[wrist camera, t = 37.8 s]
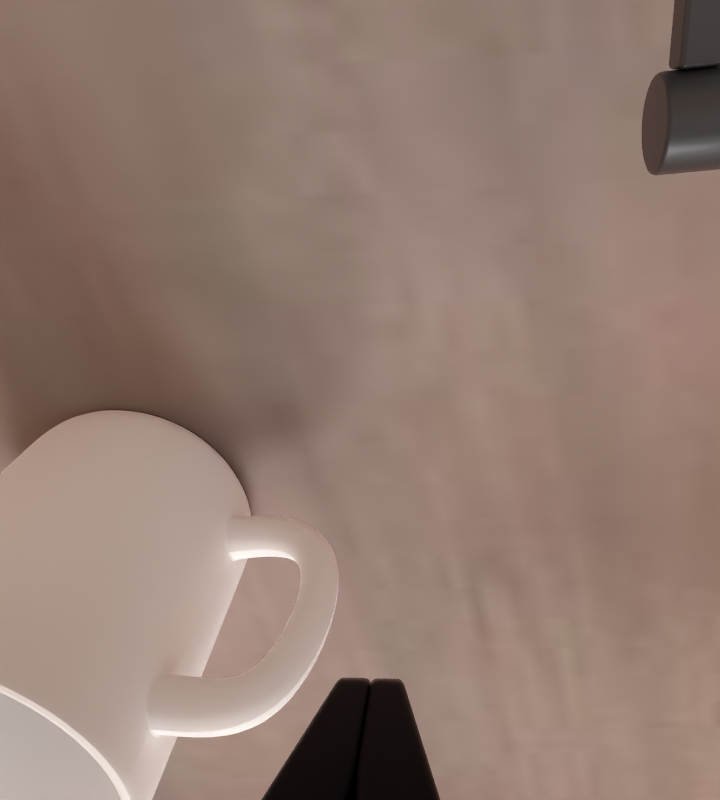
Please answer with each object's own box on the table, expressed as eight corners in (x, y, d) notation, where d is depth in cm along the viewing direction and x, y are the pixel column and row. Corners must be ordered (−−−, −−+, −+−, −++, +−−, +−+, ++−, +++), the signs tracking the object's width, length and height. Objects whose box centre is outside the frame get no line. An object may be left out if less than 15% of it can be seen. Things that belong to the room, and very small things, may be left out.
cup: (-8, 415, 22) (-315, 658, 13) (334, 375, 20) (241, 636, 11) (83, 596, 26) (-110, 883, 17) (380, 580, 23) (339, 901, 15)
